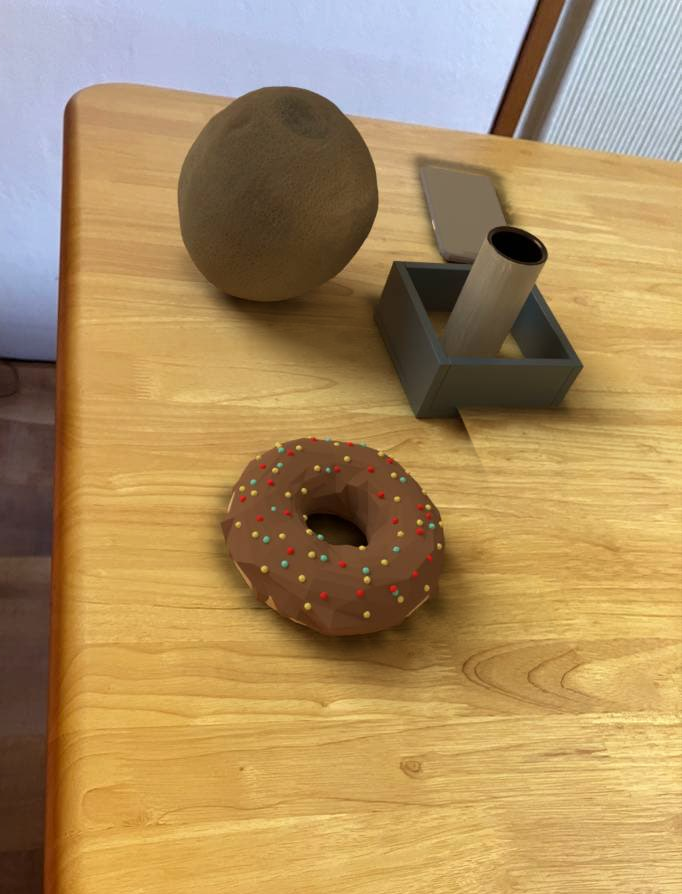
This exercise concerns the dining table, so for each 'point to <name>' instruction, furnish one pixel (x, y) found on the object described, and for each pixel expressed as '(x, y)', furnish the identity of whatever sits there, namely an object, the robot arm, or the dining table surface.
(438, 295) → the bin
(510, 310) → the beige hollow cylinder
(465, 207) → the smartphone
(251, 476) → the donut
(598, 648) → the dining table surface
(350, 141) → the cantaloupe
